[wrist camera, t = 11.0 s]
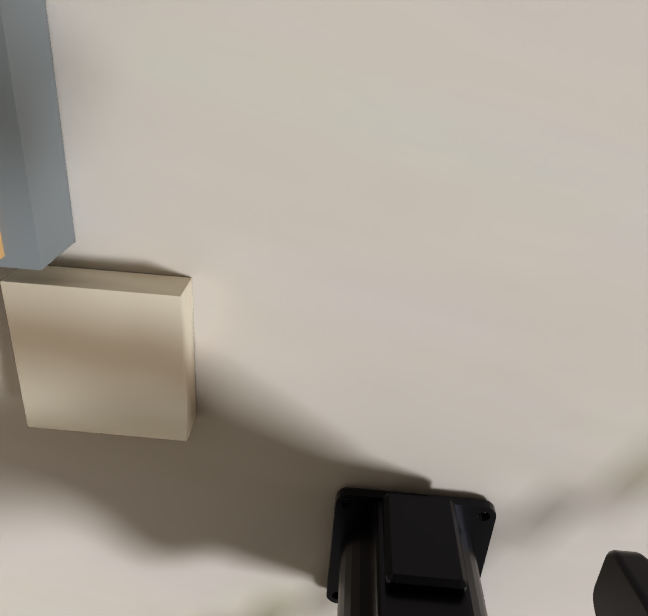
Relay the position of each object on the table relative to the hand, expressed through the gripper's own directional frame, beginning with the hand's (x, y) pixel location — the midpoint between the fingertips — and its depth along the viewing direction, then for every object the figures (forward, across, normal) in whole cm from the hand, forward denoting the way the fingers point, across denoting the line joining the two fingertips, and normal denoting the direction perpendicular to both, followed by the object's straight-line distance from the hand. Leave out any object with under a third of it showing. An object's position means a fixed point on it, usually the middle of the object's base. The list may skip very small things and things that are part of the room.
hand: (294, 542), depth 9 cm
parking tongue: (+13, +8, +5) cm, 16 cm away
